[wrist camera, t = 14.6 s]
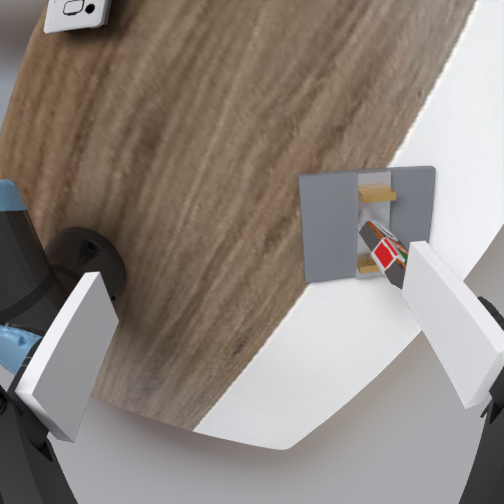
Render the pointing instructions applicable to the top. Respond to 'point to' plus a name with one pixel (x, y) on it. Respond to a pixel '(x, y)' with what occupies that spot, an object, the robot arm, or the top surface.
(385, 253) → the electronic device
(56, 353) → the robot arm
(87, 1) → the electrical switch
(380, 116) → the top surface
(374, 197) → the rail
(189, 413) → the top surface
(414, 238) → the panel
